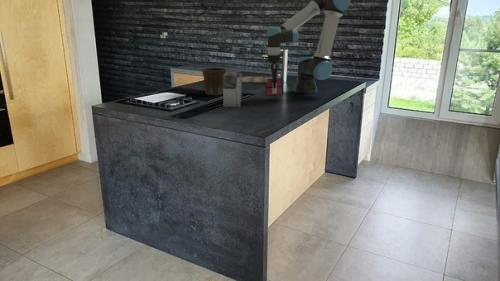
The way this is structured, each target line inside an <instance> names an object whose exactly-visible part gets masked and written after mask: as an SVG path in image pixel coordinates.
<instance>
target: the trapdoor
mask: <svg viewBox="0 0 500 281" xmlns="http://www.w3.org/2000/svg"><path fill="white" fill-rule="evenodd" d="M267 77H268V76H239V77H238V72H226V73H225V74H224V76H223V81H224V86H236V84H237V78H240V82H242V83H265V82H267Z"/></svg>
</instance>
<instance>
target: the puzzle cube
mask: <svg viewBox="0 0 500 281" xmlns="http://www.w3.org/2000/svg"><path fill="white" fill-rule="evenodd" d="M266 77H267V82H264V85H265V86H264V88H265V96H266V97H270V96H283V94H284V82H283V81H284V80H283V75H277V93H275V94H272V83H271V81H272V75H270V76H266Z"/></svg>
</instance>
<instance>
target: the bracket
mask: <svg viewBox="0 0 500 281" xmlns="http://www.w3.org/2000/svg"><path fill="white" fill-rule="evenodd" d="M239 76H242V73H240V72H237V84H236V86H224V88H223V95H222V97H223V99H222V101H223V104H222V105H223V107H230V108H231V107H233V108H235V107H237V108H238V107H241V106H242V104H241V102H242V100H243V98H242V96H243V94H242V92H243V90H242V88H243V86H242V85H243V84H242V83H243V82H240V78H238V77H239ZM242 77H243V76H242Z"/></svg>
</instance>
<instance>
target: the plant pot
mask: <svg viewBox="0 0 500 281" xmlns="http://www.w3.org/2000/svg"><path fill="white" fill-rule="evenodd" d="M201 71H202V76H203V81H204V82H203V83H204V91H205V92H204V93H205V94H206V95H207V96H223V95H222V94H223V88H224V81H223V76H224V74H225V73H227V71H228V68H225V67H224V68H223V67H207V68H202V69H201Z"/></svg>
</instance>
